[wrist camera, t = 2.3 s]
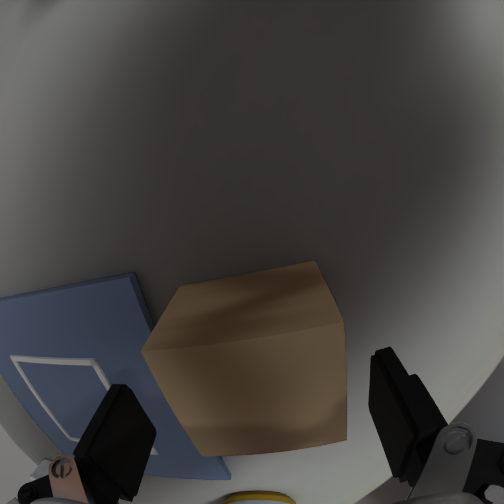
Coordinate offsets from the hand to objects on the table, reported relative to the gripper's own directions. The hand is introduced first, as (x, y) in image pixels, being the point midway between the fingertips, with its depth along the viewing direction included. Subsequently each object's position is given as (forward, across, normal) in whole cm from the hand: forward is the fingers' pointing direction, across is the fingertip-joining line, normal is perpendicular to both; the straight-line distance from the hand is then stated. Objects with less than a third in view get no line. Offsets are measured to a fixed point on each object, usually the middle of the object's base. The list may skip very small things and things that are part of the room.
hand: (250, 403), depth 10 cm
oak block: (+4, 0, -1) cm, 4 cm away
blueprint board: (+4, +14, +4) cm, 15 cm away
